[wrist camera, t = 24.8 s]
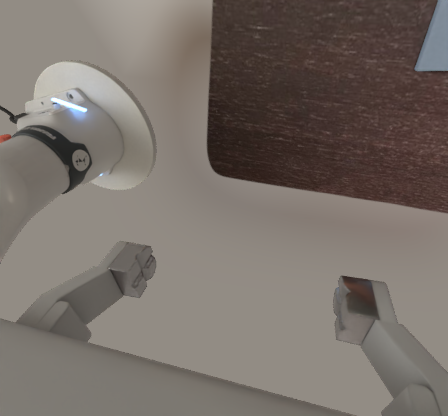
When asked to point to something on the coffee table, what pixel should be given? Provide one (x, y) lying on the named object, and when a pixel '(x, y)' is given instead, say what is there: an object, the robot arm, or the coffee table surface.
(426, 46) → the blue mat
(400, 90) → the coffee table surface
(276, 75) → the coffee table surface
